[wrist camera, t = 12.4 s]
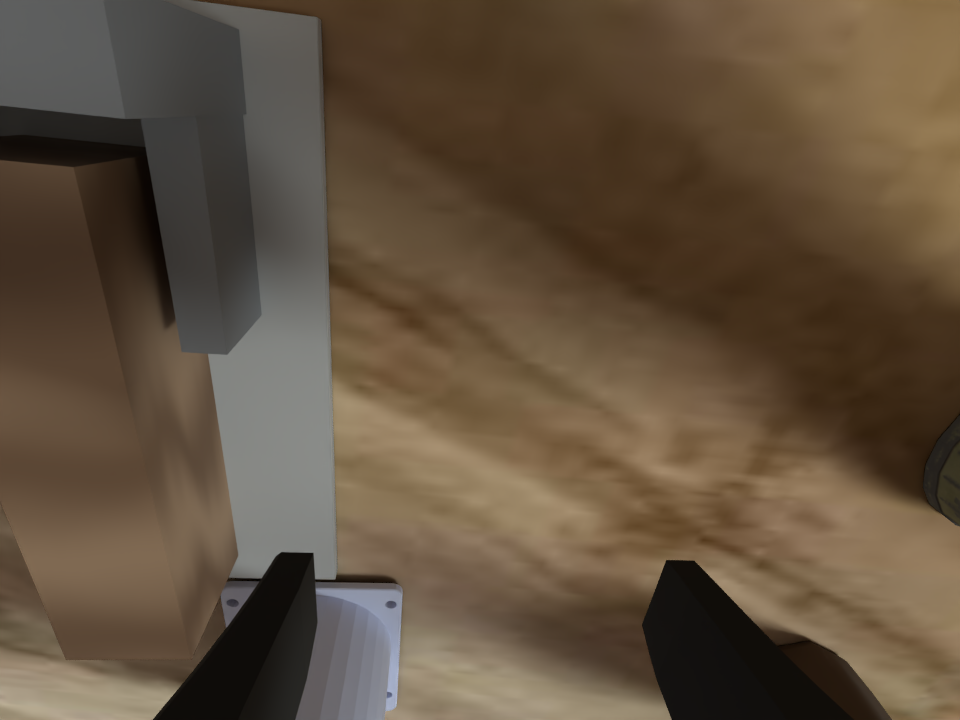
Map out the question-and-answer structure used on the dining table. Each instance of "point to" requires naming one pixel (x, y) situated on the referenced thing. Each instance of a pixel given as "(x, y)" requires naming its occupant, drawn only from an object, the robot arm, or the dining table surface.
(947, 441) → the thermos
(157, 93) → the post bracket
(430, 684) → the dining table surface
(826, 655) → the beer bottle
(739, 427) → the dining table surface
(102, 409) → the rail
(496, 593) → the dining table surface
